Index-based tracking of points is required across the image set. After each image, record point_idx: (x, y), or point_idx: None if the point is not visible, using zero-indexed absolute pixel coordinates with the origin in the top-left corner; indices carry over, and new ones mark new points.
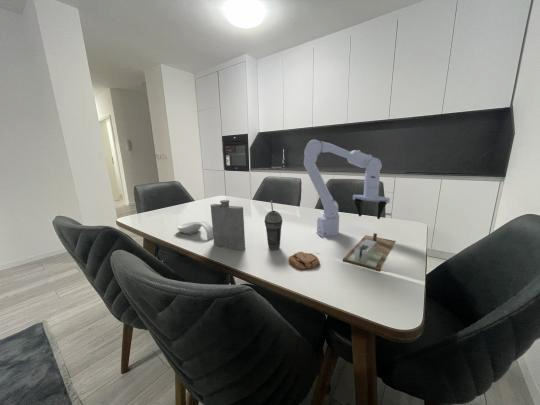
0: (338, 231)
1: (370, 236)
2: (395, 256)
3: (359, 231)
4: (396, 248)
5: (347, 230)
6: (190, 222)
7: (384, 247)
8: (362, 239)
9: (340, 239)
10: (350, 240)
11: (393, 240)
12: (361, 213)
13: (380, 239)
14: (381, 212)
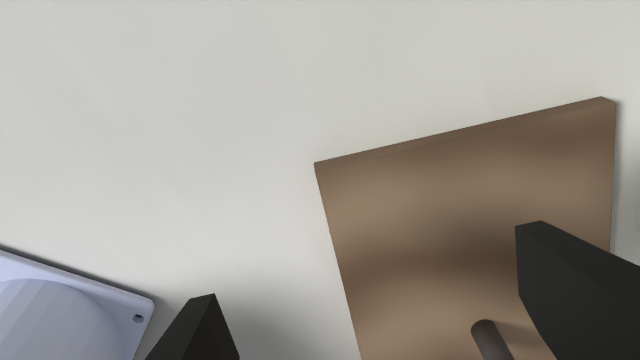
0: (100, 340)
1: (372, 171)
2: None
3: (157, 34)
4: (622, 205)
5: (43, 111)
6: None
7: None
8: (353, 289)
9: None
10: (262, 316)
11: (593, 108)
12: (215, 338)
13: (480, 175)
14: (629, 278)
